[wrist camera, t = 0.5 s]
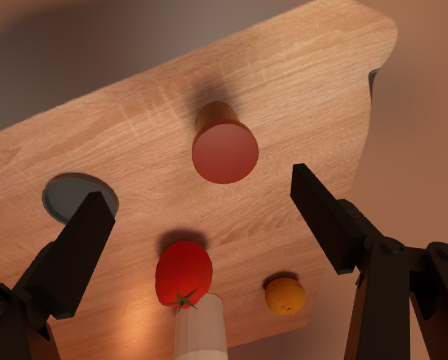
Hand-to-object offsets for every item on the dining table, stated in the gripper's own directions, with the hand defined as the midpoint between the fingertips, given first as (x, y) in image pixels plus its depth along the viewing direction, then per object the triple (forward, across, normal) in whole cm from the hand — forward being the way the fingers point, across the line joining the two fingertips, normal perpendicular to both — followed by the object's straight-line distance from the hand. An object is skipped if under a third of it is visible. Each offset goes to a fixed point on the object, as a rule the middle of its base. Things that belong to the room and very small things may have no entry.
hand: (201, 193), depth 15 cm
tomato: (+22, -8, -30) cm, 38 cm away
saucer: (+22, -23, -14) cm, 35 cm away
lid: (+10, +3, -2) cm, 11 cm away
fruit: (+22, +16, -51) cm, 58 cm away
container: (+22, -8, -56) cm, 61 cm away
